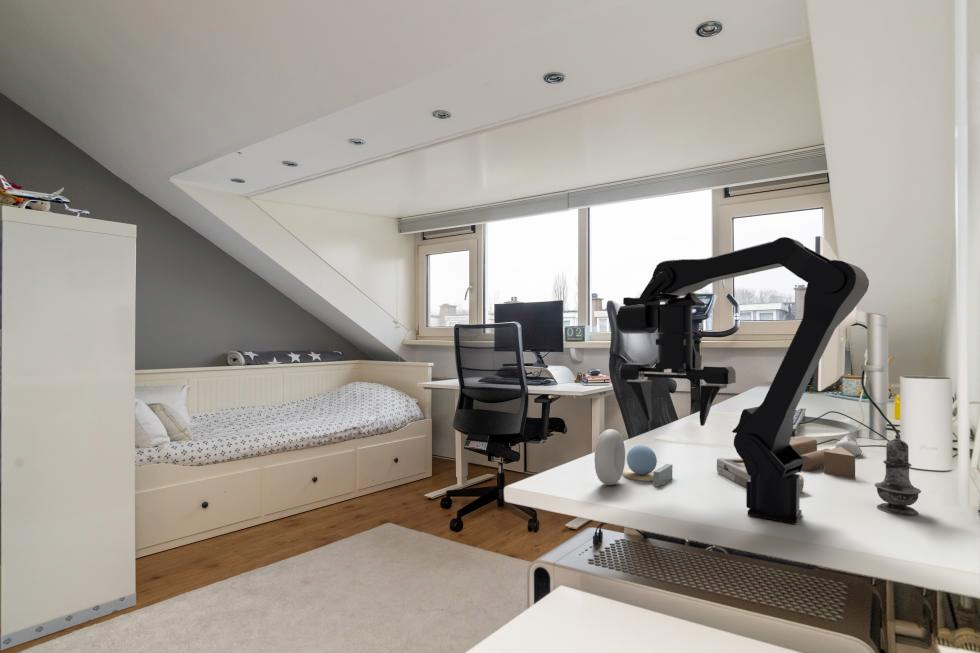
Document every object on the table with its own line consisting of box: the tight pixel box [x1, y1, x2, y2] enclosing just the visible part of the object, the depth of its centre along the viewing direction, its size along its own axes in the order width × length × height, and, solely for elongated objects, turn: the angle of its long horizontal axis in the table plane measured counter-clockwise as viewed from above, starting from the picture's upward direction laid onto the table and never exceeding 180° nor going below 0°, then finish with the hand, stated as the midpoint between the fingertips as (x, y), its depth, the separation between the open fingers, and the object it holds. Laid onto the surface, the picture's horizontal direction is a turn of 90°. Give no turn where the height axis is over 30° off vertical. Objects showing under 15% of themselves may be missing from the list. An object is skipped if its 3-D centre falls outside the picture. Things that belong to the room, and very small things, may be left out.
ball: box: [626, 444, 658, 475], centre depth 105 cm, size 6×6×6 cm
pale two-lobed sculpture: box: [835, 434, 863, 457], centre depth 128 cm, size 4×8×5 cm
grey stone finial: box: [874, 433, 922, 517], centre depth 86 cm, size 6×6×12 cm
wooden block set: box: [790, 436, 856, 480], centre depth 116 cm, size 17×6×18 cm
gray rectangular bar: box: [652, 463, 673, 487], centre depth 101 cm, size 1×8×2 cm, turn 143°
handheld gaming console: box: [716, 457, 805, 494], centre depth 101 cm, size 9×4×15 cm
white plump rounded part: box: [594, 428, 626, 486], centre depth 98 cm, size 10×4×10 cm, turn 149°
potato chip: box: [622, 469, 654, 482], centre depth 104 cm, size 7×7×1 cm
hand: (675, 422), depth 95 cm, fingers open, 9 cm apart
